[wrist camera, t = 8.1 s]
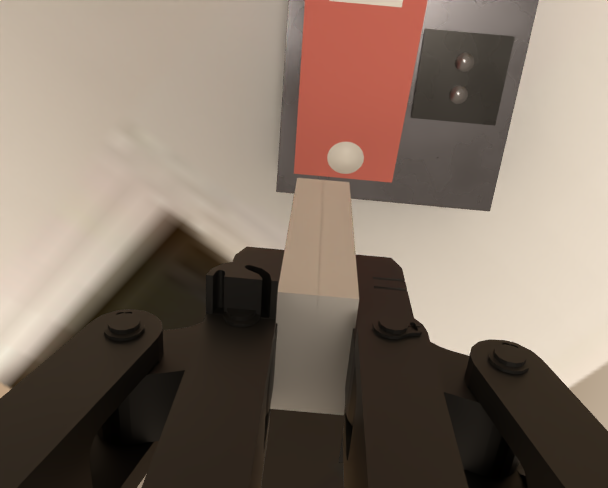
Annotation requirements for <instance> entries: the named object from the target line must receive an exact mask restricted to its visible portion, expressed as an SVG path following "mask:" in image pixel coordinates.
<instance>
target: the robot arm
mask: <svg viewBox="0 0 608 488" xmlns="http://www.w3.org/2000/svg"><path fill="white" fill-rule="evenodd" d="M404 281H405V279H404V275H403V271H402V268H401V267H400V266H399V265H398V264H397V263H396V262H395V261H394V260H393V259H392V258H387V257H376V256H364V255H355V243H354V232H353V220H352V208H351V196H350V184H349V182H341V181H330V180H318V179H307V178H297V182H296V188H295V193H294V199H293V205H292V211H291V216H290V222H289V228H288V234H287V239H286V245H285V250H278V249H267V248H255V247H246V248H244V249H243V250H242V251H240V252H239V253H238V254H236V255H235V257H234V260H233V262H230V263H225V264H221V265H219V266H216V267H214V268H212V269H211V270H210V271H209V272H208V273H207V275H206V315H205V318H204V321H203V322H202V323H200V324H197V325H194V326H191V327H185V328H180V329H170V330H163V328H162V322H161V321H160V320H159V319H158V318H157V317H156V316H155V315H153V314H151V313H148V312H146V311H140V310H132V309H125V310H117V311H114V312H111V313H107V314H104V315H102V316H100V317H98V318H97V319H95V320H93V321H92V322H91V323H89V324H88V325H87V326H86V327H85V328H83V329H82V330H81V331H80V332H79V333H78V334H76V335H75V336H74V337H73V338H72V339H70V340H69V341H68V342H67V343H66V344H64V345H63V346H62V347H61V348H60V349H59V350H57V351H56V352H55V353H54V354H53V355H51V356H50V357H49V358H48V359H47V360H45V361H44V362H43V363H42V364H41V365H40V366H38V367H37V368H36V369H35V370H34V371H32V372H31V373H30V374H29V375H28V376H27V377H25V378H24V379H23V380H22V381H21V382H19V383H18V384H17V385H16V386H15V387H13V388H12V389H11V390H10V391H9V392H8V393H6V394H5V395H4V396H3V397H2V398H0V488H137V486H138V485H139V484H140V482H141V481H142V479H143V478H144V477H145V475H146V474H147V475H146V477H145V480H144V483H143V485H142V488H261V482H262V475H263V468H264V460H265V453H266V446H267V438H268V431H269V420H270V409H281V410H292V411H303V412H314V413H326V414H337V415H344V408H345V406H346V413H345V421H344V428H343V435H342V443H341V450H340V457H339V463H343V470H344V488H608V431H607V430H606V429H605V428H604V427H603V425H602V424H601V423H600V422H599V421H598V420H597V419H596V418H595V417H594V416H593V415H592V413H590V411H589V410H588V409H587V408H586V407H585V406H584V405H583V404H582V403H581V401H580V400H579V399H578V398H577V397H576V396H575V395H574V394H573V393H572V392H571V391H570V389H569V388H568V387H567V386H566V385H565V384H564V383H563V382H562V381H561V380H560V379H559V377H558V376H557V375H556V374H555V373H554V372H553V371H552V370H551V369H550V368H549V367H548V365H547V364H546V363H545V362H544V361H543V360H542V359H541V358H540V357H538V356H537V355H536V354H535V353H534V352H532V351H531V350H529V349H527V348H525V347H523V346H521V345H519V344H516V343H513V342H510V341H505V340H485V341H480V342H478V343H477V344H475V345H474V346H472V348H471V352H470V356H467V355H464V354H460V353H457V352H453V351H450V350H447V349H444V348H442V347H439V346H437V345H435V344H433V343H431V342H430V340H429V336H428V332H427V331H426V329H425V327H424V326H423V325H422V324H421V323H420V322H418V321H417V320H416V319H414V317H413V313H412V308H411V304H410V300H409V296H408V292H407V288H406V283H405V282H404Z"/></svg>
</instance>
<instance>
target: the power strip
mask: <svg viewBox="0 0 608 488" xmlns="http://www.w3.org/2000/svg"><path fill="white" fill-rule="evenodd" d="M538 1H539V0H428V1H427V6H426V11H425V16H424V22H423V27H422V32H421V37H420V42H419V47H418V52H417V57H416V62H415V67H414V73H413V78H412V83H411V88H410V93H409V98H408V103H407V108H406V113H405V118H404V124H403V129H402V134H401V139H400V144H399V149H398V154H397V159H396V164H395V170H394V175H393V180H392V183H391V182H380V181H369V180H358V179H347V178H336V177H325V176H315V175H304V174H294V164H295V148H296V133H297V117H298V101H299V86H300V70H301V55H302V39H303V23H304V8H305V0H289V3H288V19H287V34H286V50H285V65H284V81H283V97H282V112H281V128H280V143H279V159H278V174H277V190H276V192H286V193H295V188H296V182H297V178H307V179H318V180H330V181H341V182H349V184H350V196H351V199H362V200H373V201H384V202H395V203H405V204H416V205H427V206H438V207H449V208H460V209H470V210H481V211H490V208H491V204H492V200H493V195H494V191H495V187H496V182H497V178H498V174H499V169H500V165H501V161H502V156H503V152H504V148H505V143H506V139H507V135H508V130H509V126H510V122H511V117H512V113H513V109H514V104H515V100H516V96H517V92H518V87H519V83H520V79H521V74H522V70H523V66H524V61H525V57H526V53H527V48H528V44H529V40H530V35H531V31H532V27H533V22H534V18H535V14H536V9H537V5H538Z"/></svg>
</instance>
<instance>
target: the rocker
mask: <svg viewBox="0 0 608 488" xmlns="http://www.w3.org/2000/svg"><path fill="white" fill-rule="evenodd" d="M427 1H428V0H305V8H304V23H303V39H302V55H301V70H300V86H299V101H298V117H297V133H296V148H295V164H294V174H304V175H315V176H325V177H336V178H347V179H358V180H369V181H380V182H391V183H392V180H393V175H394V170H395V164H396V159H397V154H398V149H399V144H400V139H401V134H402V129H403V124H404V118H405V113H406V108H407V103H408V98H409V93H410V88H411V83H412V78H413V73H414V67H415V62H416V57H417V52H418V47H419V42H420V37H421V32H422V27H423V22H424V16H425V11H426V6H427Z"/></svg>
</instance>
